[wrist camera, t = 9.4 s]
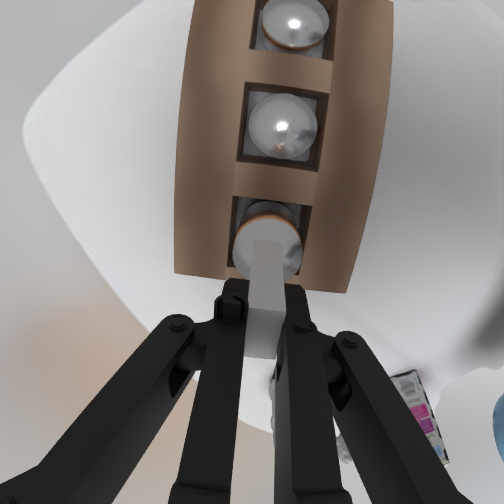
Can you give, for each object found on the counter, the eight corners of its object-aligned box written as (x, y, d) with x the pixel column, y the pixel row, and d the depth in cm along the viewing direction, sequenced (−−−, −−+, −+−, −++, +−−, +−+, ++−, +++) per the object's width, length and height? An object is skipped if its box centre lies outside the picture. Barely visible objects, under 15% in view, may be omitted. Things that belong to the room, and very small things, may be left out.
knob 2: (310, 104, 20) (321, 98, 16) (303, 156, 22) (312, 164, 18) (255, 96, 20) (251, 88, 16) (249, 149, 22) (244, 155, 18)
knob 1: (319, 20, 17) (331, -2, 12) (315, 65, 19) (327, 51, 14) (265, 13, 17) (264, -12, 12) (260, 57, 19) (257, 41, 14)
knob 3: (300, 204, 22) (309, 227, 17) (291, 256, 23) (296, 289, 19) (242, 197, 22) (235, 217, 17) (237, 250, 23) (229, 281, 19)
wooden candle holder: (372, 20, 17) (393, 2, 12) (334, 265, 27) (345, 293, 22) (212, -3, 17) (200, -27, 12) (189, 247, 27) (174, 273, 22)
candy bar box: (385, 377, 34) (414, 477, 19) (416, 368, 33) (452, 461, 18) (379, 415, 39) (398, 497, 24) (406, 407, 38) (429, 485, 23)
